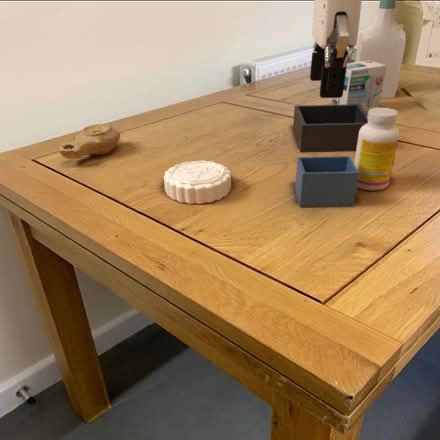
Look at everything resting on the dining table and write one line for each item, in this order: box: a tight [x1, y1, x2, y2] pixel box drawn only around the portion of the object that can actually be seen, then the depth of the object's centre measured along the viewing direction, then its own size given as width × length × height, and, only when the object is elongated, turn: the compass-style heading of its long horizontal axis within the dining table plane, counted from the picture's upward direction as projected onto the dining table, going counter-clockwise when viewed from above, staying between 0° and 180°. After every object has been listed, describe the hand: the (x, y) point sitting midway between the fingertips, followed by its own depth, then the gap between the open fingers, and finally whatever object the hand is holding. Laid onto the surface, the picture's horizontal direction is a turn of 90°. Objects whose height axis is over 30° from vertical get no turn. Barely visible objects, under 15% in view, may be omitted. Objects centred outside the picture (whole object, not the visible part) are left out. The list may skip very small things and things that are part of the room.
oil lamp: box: [58, 123, 121, 160], centre depth 98 cm, size 11×14×5 cm
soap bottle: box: [355, 0, 407, 99], centre depth 121 cm, size 11×8×27 cm
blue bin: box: [294, 155, 359, 208], centre depth 79 cm, size 9×7×6 cm
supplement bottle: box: [353, 107, 400, 191], centre depth 81 cm, size 7×7×13 cm
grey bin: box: [292, 104, 368, 153], centre depth 101 cm, size 15×14×6 cm
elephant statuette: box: [347, 47, 357, 63], centre depth 147 cm, size 9×12×8 cm
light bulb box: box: [330, 60, 386, 114], centre depth 116 cm, size 11×7×11 cm, turn 114°
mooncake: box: [163, 159, 232, 205], centre depth 84 cm, size 12×12×4 cm
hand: (325, 88), depth 70 cm, fingers open, 9 cm apart
